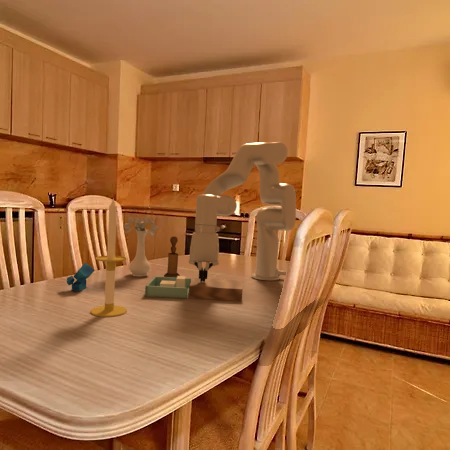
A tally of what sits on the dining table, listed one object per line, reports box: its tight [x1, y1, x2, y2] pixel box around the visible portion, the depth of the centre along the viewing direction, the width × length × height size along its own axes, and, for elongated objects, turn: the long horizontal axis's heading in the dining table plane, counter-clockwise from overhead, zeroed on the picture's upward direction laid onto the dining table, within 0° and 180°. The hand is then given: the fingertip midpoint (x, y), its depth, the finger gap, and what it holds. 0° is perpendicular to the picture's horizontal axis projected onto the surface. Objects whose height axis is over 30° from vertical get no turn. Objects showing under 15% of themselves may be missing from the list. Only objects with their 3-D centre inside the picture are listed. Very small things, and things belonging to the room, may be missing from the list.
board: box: [188, 277, 244, 302], centre depth 131 cm, size 18×14×4 cm
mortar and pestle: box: [163, 236, 181, 278], centre depth 148 cm, size 7×6×18 cm
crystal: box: [66, 262, 95, 292], centre depth 127 cm, size 7×9×12 cm
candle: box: [90, 197, 128, 318], centre depth 103 cm, size 10×10×32 cm
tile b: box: [160, 280, 176, 287], centre depth 130 cm, size 5×5×3 cm
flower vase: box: [123, 216, 160, 278], centre depth 155 cm, size 13×18×25 cm
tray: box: [144, 276, 192, 299], centre depth 130 cm, size 14×16×4 cm
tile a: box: [176, 275, 187, 288], centre depth 130 cm, size 5×5×3 cm
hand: (202, 280), depth 130 cm, fingers closed
